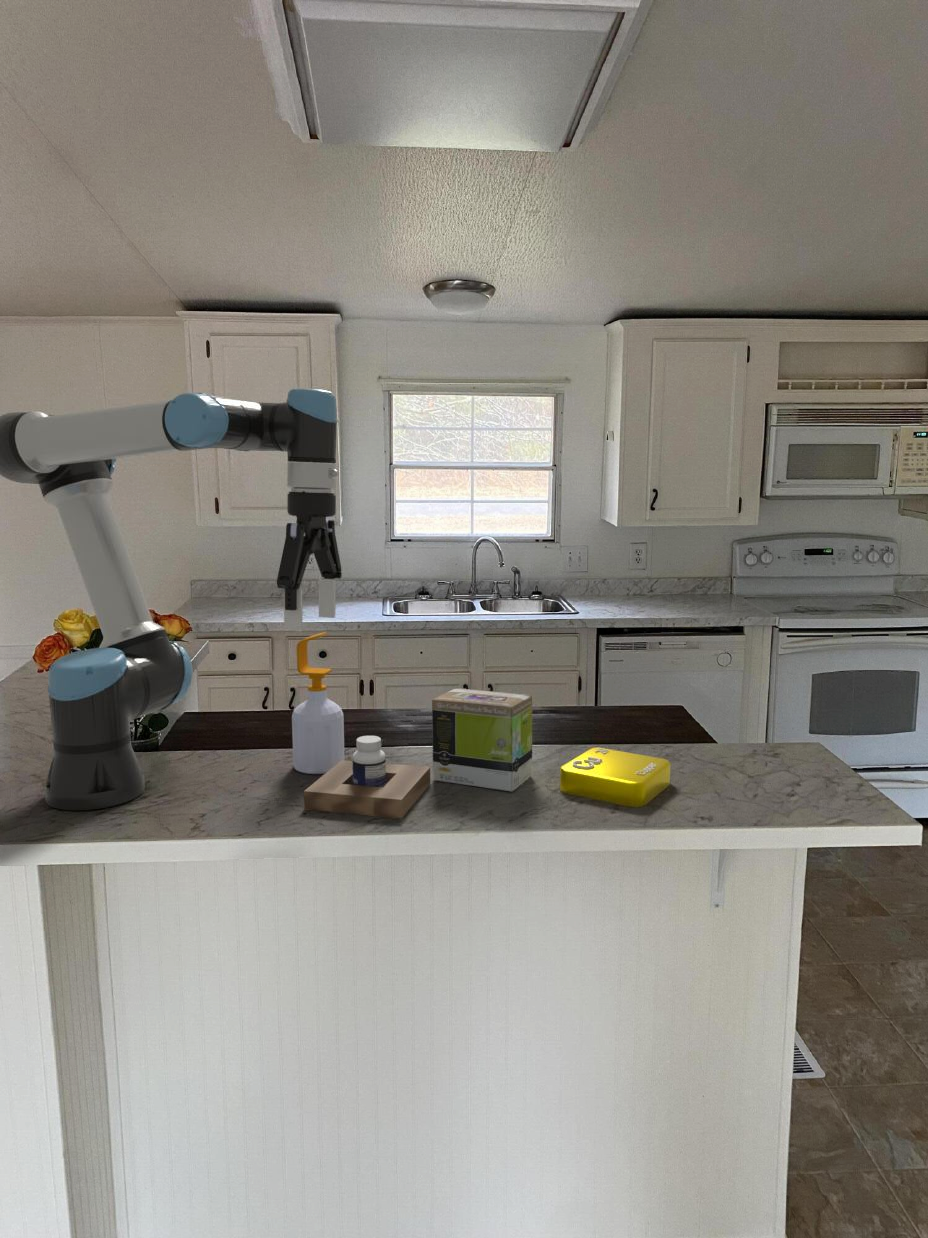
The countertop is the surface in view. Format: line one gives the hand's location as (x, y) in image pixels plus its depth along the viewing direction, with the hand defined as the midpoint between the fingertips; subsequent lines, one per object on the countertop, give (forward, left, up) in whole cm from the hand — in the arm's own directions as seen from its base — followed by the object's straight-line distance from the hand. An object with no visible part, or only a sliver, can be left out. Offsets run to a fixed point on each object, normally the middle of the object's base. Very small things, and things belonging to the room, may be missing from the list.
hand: (310, 623), depth 142 cm
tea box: (+26, +13, -29) cm, 40 cm away
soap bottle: (-4, +12, -28) cm, 31 cm away
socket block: (+10, 0, -28) cm, 30 cm away
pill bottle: (+10, 0, -28) cm, 30 cm away
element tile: (+48, +14, -29) cm, 58 cm away
